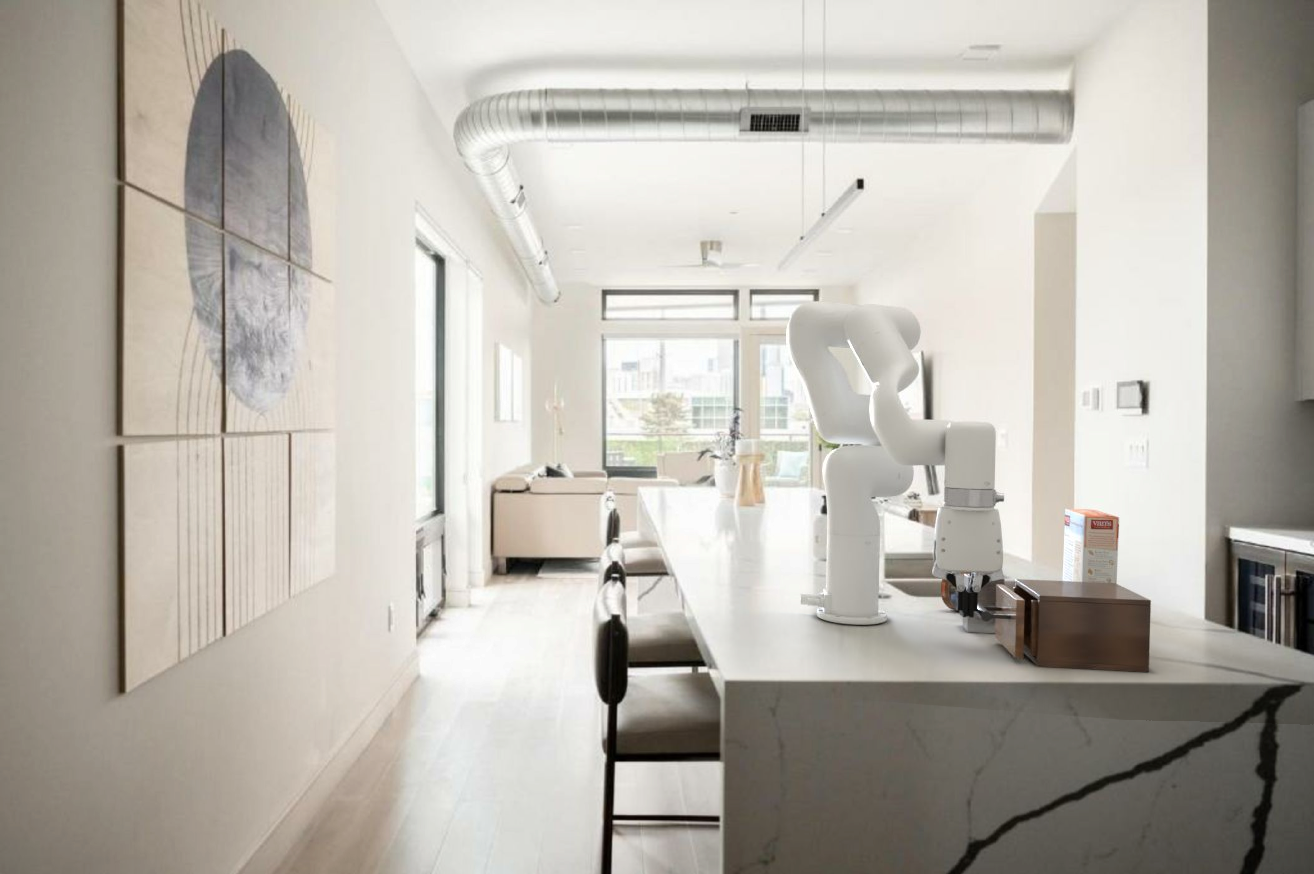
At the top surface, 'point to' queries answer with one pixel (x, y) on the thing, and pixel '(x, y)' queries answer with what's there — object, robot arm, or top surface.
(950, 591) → the tin
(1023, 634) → the drawer
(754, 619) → the top surface
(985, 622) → the grater
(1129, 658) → the cabinet
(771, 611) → the top surface
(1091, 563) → the cracker box
